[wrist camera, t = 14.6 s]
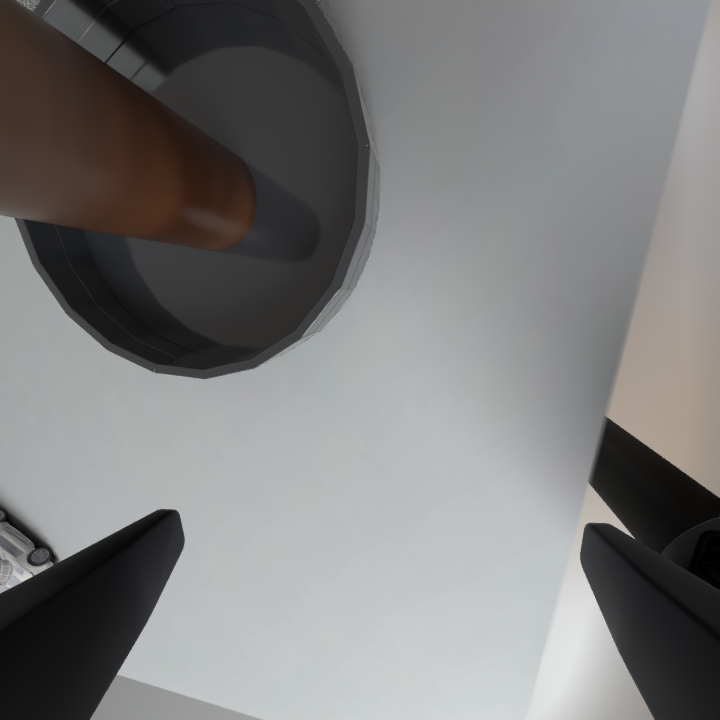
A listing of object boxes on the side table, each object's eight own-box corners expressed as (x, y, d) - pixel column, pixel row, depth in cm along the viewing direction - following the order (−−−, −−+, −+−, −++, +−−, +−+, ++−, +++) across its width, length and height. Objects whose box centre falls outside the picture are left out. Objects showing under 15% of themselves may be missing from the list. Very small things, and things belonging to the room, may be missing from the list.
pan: (395, -15, 15) (386, -104, 11) (366, 378, 19) (353, 398, 15) (56, 12, 18) (-30, -52, 14) (93, 346, 22) (33, 357, 18)
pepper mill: (276, 211, 17) (-247, -55, 4) (206, 270, 19) (-355, 226, 5) (217, 121, 17) (-586, -516, 3) (150, 188, 18) (-605, -81, 5)
